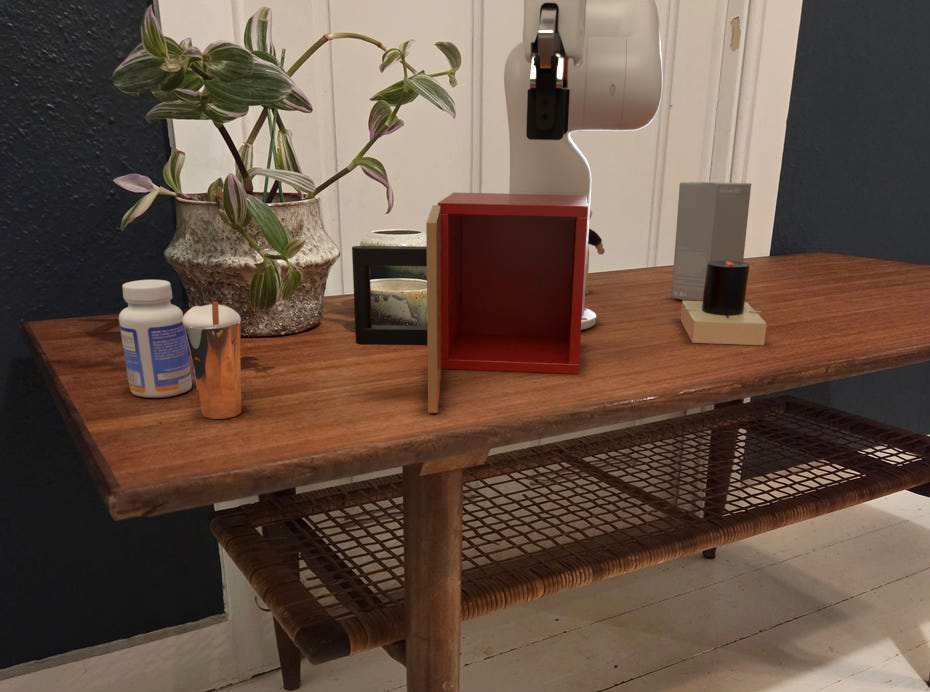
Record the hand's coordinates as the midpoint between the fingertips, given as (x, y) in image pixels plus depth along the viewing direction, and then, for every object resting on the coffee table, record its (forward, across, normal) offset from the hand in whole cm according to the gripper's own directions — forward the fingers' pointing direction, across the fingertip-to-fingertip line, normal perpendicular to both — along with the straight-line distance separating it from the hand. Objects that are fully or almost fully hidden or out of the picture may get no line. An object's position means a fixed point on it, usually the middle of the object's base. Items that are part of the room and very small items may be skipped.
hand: (548, 136), depth 81 cm
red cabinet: (+22, +3, +3) cm, 22 cm away
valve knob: (+20, +19, -20) cm, 34 cm away
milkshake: (+22, -21, +25) cm, 39 cm away
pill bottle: (+22, -15, +34) cm, 43 cm away
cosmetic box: (+23, +40, -21) cm, 51 cm away
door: (+21, -11, +12) cm, 27 cm away
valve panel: (+22, +19, -20) cm, 36 cm away
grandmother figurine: (+23, +41, -2) cm, 47 cm away
